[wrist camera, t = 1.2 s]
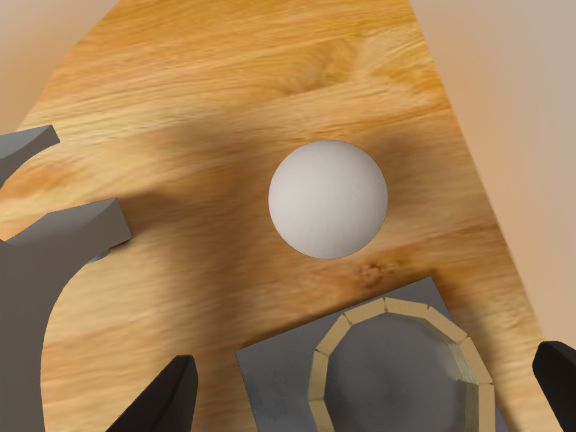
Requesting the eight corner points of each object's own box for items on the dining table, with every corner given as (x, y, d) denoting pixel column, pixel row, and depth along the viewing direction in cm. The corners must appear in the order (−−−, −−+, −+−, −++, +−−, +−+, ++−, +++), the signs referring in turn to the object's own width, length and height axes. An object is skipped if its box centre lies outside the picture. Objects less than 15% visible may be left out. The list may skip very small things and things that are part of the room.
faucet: (223, 517, 27) (118, 138, 24) (160, 1050, 10) (-212, 29, 7) (145, 539, 27) (29, 158, 23) (-50, 1125, 10) (-532, 91, 7)
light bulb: (306, 185, 25) (310, 93, 16) (377, 226, 24) (427, 153, 15) (260, 250, 24) (234, 191, 14) (334, 298, 22) (358, 268, 13)
